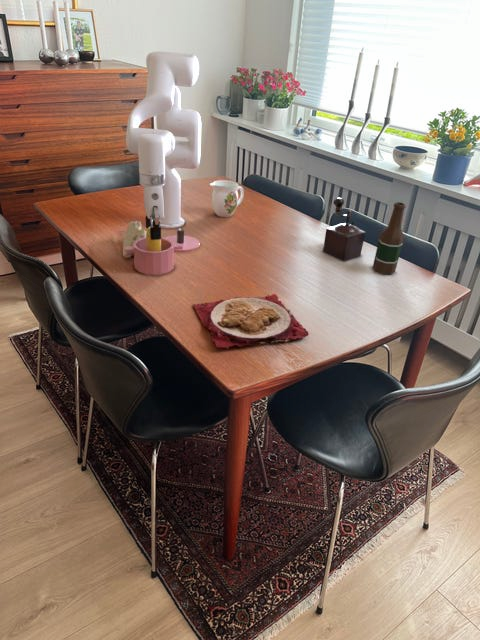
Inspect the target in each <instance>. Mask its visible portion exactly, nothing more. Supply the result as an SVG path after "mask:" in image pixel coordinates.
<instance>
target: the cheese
mask: <svg viewBox="0 0 480 640" xmlns="http://www.w3.org/2000/svg"><path fill="white" fill-rule="evenodd" d="M142 227H143V226H142V223H141V221H138V220H135V221H134V220H133V221H129V222H128V224H127V227H126V232H125V236H124V238H123V243H122V256H123V257H124V258H125V259H131V257H132V256H134V252H125V247H126V246H133V244H134V242H135V241H136V240H138V239H141V238H145V237H146V232H147V231H146V230H145V229H142Z"/></svg>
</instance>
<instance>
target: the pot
mask: <svg viewBox="0 0 480 640" xmlns="http://www.w3.org/2000/svg"><path fill="white" fill-rule="evenodd" d="M165 238H166V237H162V236H161V251H157V252H151V251H147V247H146V237H145V238H141V239H138V240H136V241H135V242H134V244H133V246H126V247H125V252H134V255H133V266H134V269H135V270H136V271H138V272H139V273H142V274H145V275H151V276H153V275H163V274H167V273H169V272H171V271H172V270H174V267H175V251H174V250H177V249H182V245H181V244H173V242H172V241H170V240H169V239H165Z"/></svg>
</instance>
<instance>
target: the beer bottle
mask: <svg viewBox="0 0 480 640" xmlns="http://www.w3.org/2000/svg"><path fill="white" fill-rule="evenodd" d="M405 209H406V204H405V203H403V202H400V201H399V202H395V203H394V204H393V210H392V213H391V216H390V219H389V222H388V224H387V226H386V227H385V228H384V229H383V230H382V231H381V233H380V235H379V238H378V242H377V246H376V251H375V255H374V259H373V264H372V269H373V270H374V272H375V273H377V274H380V275H383V276H392V275H393V274H395V273H396V269H397V266H398V263H399V259H400V254H401V251H402V247H403V244H404V233H403V230H402V222H403V216H404V211H405Z"/></svg>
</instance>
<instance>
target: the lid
mask: <svg viewBox="0 0 480 640" xmlns="http://www.w3.org/2000/svg"><path fill="white" fill-rule="evenodd" d="M164 238H165V239H169V240H170V241H172V242H173V244H181V245H182V249H177V250H174V252H191V251H194V250H196V249H198V248H199V247H200V244H201V243H200V241H199V240H198V239H197V238H195V237H193V236H190V235H185V229H184V228H181V227H178V228H177V229H176V234H175V235H174V234H173V235H169V236H166V237H164Z"/></svg>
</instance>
